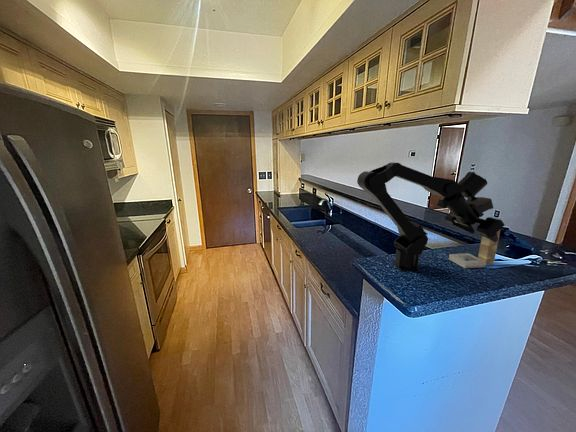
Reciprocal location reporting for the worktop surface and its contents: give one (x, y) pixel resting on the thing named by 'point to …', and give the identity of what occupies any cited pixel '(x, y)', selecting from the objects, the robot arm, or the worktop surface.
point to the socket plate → (471, 263)
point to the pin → (488, 250)
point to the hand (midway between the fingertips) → (484, 236)
